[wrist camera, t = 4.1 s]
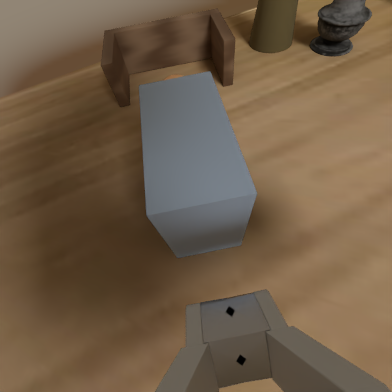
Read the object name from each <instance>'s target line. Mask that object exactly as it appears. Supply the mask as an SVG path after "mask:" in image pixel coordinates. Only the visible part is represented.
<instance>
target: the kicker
mask: <svg viewBox="0 0 392 392" xmlns="http://www.w3.org/2000/svg"><path fill="white" fill-rule="evenodd" d="M139 97H140V114H141V131H142V148H143V165H144V182H145V199H146V216H147V217H148V219H149V220H150V221H151V223H152V224H153V225H154V227H155V228H156V229H157V231H158V232H159V234H160V235H161V236H162V238H163V239H164V240H165V242H166V243H167V244H168V246H169V247H170V249H171V250H172V251H173V253H174V254H175V255H176V257H177V258H181V257H186V256H191V255H196V254H201V253H206V252H211V251H215V250H220V249H225V248H230V247H235V246H240V245H241V244H242V240H243V237H244V234H245V231H246V227H247V224H248V221H249V218H250V215H251V211H252V208H253V205H254V202H255V199H256V195H257V192H256V189H255V186H254V184H253V181H252V179H251V176H250V173H249V171H248V168H247V166H246V163H245V160H244V158H243V155H242V153H241V150H240V147H239V145H238V142H237V140H236V137H235V134H234V132H233V129H232V126H231V124H230V121H229V119H228V116H227V113H226V111H225V108H224V106H223V103H222V100H221V98H220V95H219V93H218V90H217V87H216V85H215V82H214V80H213V77H212V74H211V72H210V71H209V72H204V73H199V74H194V75H188V76H183V77H178V78H173V79H168V80H163V81H158V82H153V83H148V84H143V85H139Z"/></svg>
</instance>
